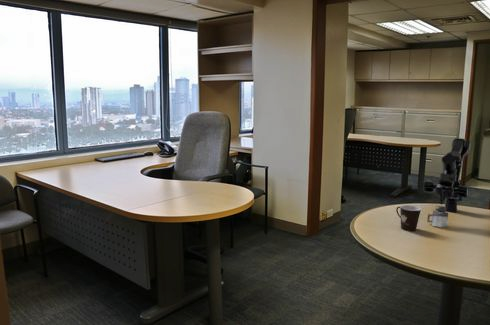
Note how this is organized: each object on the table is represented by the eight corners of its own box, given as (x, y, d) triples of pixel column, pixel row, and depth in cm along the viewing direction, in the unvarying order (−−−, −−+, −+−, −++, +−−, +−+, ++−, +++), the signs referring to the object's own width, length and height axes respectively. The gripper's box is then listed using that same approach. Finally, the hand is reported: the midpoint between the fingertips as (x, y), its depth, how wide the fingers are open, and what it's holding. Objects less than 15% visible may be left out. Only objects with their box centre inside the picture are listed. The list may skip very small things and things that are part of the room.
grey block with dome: (427, 221, 192) (428, 209, 191) (446, 224, 188) (448, 212, 187) (426, 225, 186) (428, 213, 185) (446, 229, 182) (448, 216, 181)
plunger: (433, 221, 190) (435, 205, 189) (445, 223, 188) (447, 206, 186) (433, 224, 186) (434, 207, 184) (444, 226, 183) (447, 209, 182)
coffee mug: (421, 232, 177) (424, 211, 175) (402, 232, 177) (404, 210, 175) (411, 223, 189) (413, 203, 187) (393, 223, 189) (395, 203, 187)
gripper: (426, 164, 191) (418, 190, 185) (470, 169, 181) (463, 197, 174) (427, 177, 199) (420, 203, 192) (470, 183, 188) (464, 211, 182)
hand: (441, 203), depth 185 cm, fingers closed
